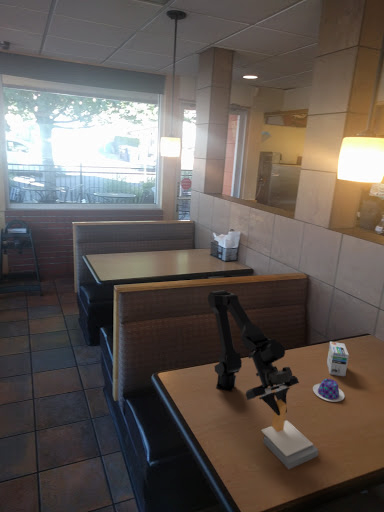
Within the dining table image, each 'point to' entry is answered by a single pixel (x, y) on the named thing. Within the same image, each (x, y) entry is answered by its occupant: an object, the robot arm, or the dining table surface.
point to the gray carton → (293, 458)
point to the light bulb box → (337, 359)
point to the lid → (285, 433)
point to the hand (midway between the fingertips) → (282, 414)
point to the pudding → (328, 390)
